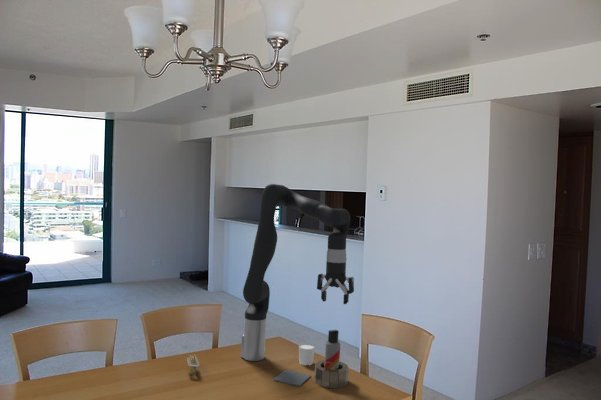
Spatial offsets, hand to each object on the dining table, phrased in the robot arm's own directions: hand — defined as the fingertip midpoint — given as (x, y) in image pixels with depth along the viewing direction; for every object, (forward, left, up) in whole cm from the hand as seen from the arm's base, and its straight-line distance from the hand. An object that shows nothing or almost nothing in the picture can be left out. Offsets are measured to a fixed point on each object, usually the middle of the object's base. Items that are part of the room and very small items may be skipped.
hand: (334, 302), depth 188 cm
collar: (0, 0, -31) cm, 31 cm away
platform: (-50, -20, -31) cm, 62 cm away
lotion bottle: (0, 0, -31) cm, 31 cm away
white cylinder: (-16, +13, -31) cm, 37 cm away
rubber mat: (-14, -5, -31) cm, 34 cm away
